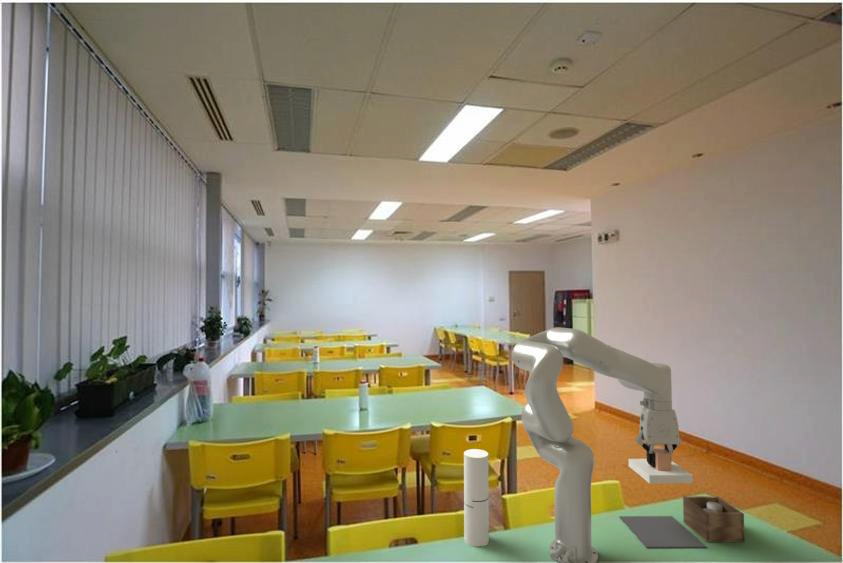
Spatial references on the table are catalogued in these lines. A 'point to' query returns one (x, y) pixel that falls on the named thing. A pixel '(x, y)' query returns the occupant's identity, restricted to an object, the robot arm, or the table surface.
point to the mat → (661, 532)
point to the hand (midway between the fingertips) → (659, 464)
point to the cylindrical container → (476, 497)
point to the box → (713, 519)
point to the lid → (661, 469)
